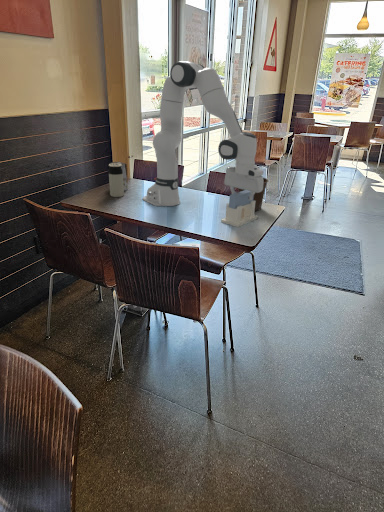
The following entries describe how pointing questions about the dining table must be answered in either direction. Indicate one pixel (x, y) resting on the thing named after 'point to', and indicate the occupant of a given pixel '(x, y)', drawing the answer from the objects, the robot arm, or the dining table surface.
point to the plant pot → (258, 196)
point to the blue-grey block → (239, 199)
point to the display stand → (240, 214)
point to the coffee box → (124, 174)
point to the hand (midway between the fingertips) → (241, 197)
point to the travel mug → (116, 180)
